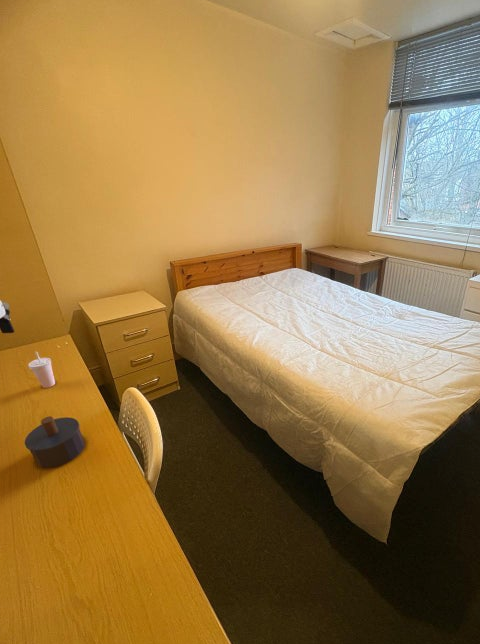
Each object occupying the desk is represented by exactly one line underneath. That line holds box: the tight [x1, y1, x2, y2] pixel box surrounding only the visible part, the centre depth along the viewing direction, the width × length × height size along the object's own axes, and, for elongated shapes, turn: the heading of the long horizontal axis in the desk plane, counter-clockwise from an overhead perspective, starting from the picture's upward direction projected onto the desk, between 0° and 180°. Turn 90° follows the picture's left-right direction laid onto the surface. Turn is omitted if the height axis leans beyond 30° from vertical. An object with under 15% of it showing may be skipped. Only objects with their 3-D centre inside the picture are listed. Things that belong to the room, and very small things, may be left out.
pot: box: [29, 428, 86, 469], centre depth 88 cm, size 11×11×6 cm
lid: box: [24, 415, 80, 451], centre depth 85 cm, size 12×12×6 cm
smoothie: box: [27, 351, 56, 389], centre depth 113 cm, size 6×6×14 cm
